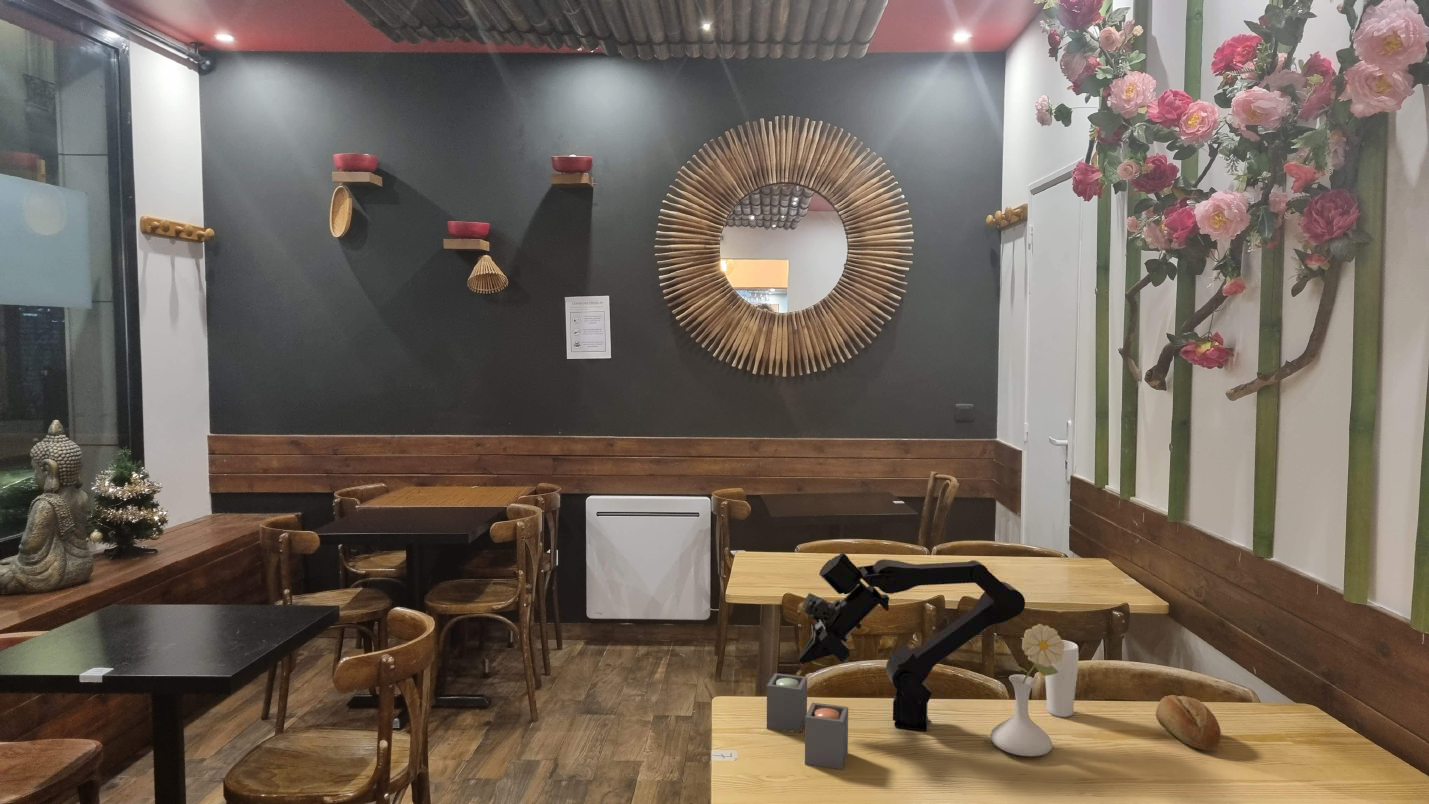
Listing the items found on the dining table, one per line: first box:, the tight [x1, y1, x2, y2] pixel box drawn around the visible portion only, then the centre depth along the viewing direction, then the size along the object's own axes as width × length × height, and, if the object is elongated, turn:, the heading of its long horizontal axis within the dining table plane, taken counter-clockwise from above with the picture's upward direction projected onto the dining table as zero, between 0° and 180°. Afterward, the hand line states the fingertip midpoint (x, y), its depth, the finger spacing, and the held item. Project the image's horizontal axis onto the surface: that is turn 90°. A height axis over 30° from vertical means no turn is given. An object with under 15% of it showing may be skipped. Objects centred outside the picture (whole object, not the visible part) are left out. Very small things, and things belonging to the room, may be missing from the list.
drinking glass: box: [1044, 639, 1079, 718], centre depth 179 cm, size 7×7×15 cm
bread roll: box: [1155, 694, 1222, 751], centre depth 168 cm, size 10×15×8 cm, turn 3°
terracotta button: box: [815, 708, 839, 720], centre depth 158 cm, size 5×5×2 cm
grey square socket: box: [766, 672, 808, 733], centre depth 174 cm, size 7×7×9 cm
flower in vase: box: [989, 623, 1064, 757], centre depth 162 cm, size 13×11×25 cm
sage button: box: [776, 678, 798, 688], centre depth 173 cm, size 5×5×2 cm
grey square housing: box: [804, 702, 849, 771], centre depth 159 cm, size 7×7×9 cm
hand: (800, 661), depth 173 cm, fingers closed
